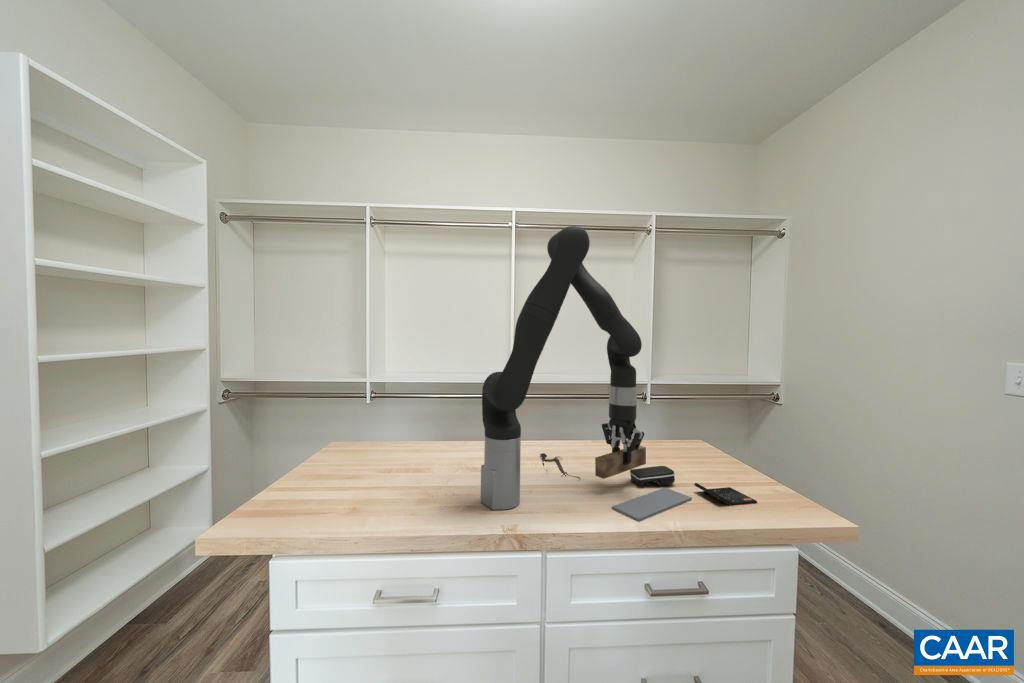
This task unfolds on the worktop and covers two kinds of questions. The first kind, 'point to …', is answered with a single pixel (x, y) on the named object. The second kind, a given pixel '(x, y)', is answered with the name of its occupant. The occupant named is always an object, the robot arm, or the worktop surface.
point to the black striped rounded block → (653, 475)
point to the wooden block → (618, 462)
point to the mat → (651, 503)
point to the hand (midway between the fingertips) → (621, 462)
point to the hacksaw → (556, 462)
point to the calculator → (728, 495)
